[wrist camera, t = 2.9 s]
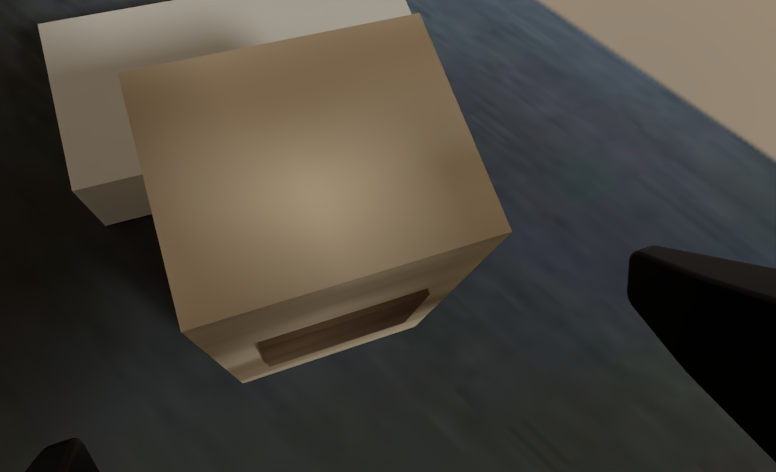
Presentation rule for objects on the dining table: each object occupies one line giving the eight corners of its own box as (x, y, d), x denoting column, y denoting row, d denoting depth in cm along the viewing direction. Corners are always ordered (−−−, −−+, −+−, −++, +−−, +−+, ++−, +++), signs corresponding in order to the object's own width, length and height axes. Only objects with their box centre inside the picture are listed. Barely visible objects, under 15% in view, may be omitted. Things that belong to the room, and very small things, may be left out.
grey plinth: (429, 142, 22) (448, 101, 20) (105, 225, 20) (71, 190, 17) (379, 17, 24) (389, -38, 21) (73, 78, 21) (37, 24, 18)
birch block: (416, 330, 20) (514, 238, 11) (244, 387, 19) (182, 341, 9) (369, 197, 21) (419, 12, 12) (205, 242, 20) (117, 73, 11)
